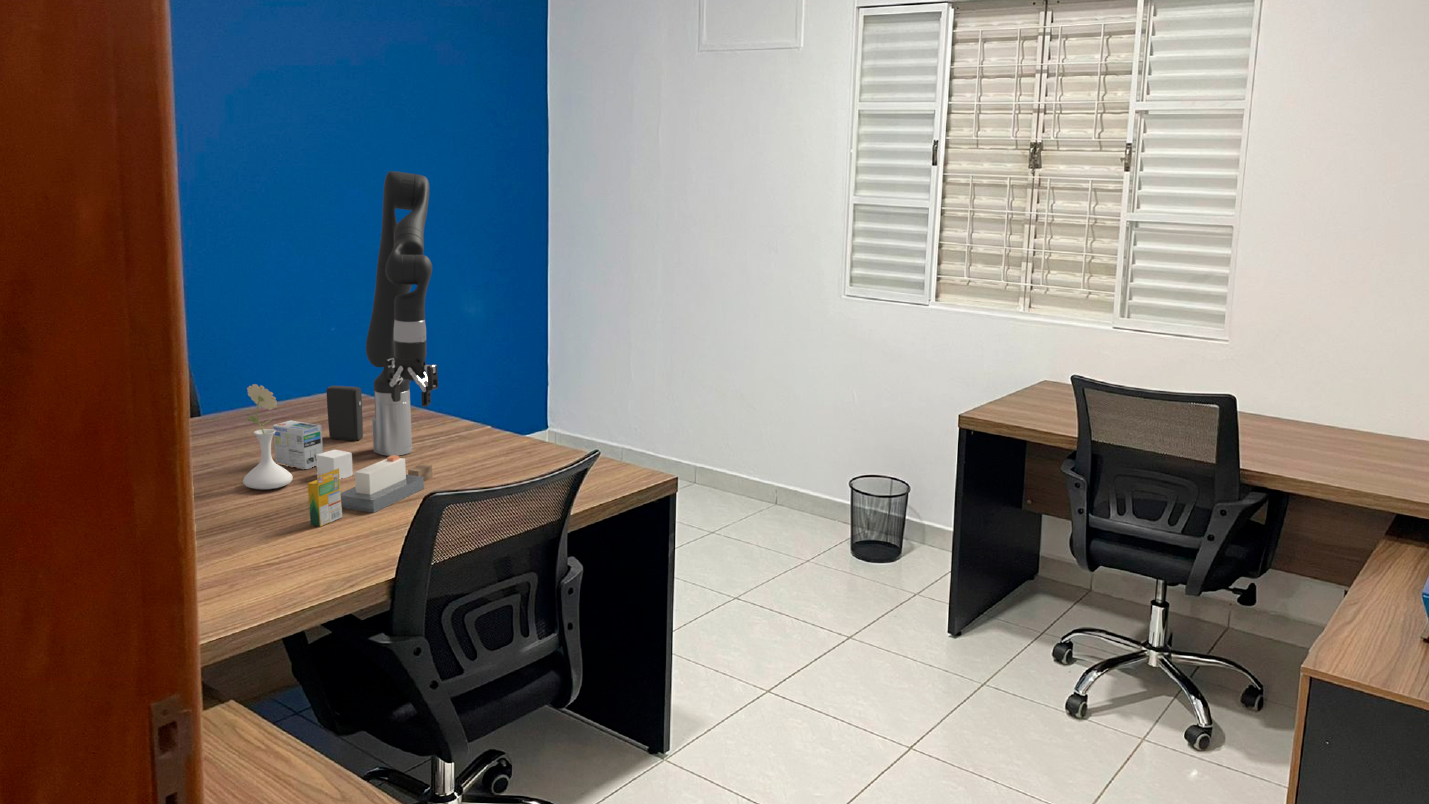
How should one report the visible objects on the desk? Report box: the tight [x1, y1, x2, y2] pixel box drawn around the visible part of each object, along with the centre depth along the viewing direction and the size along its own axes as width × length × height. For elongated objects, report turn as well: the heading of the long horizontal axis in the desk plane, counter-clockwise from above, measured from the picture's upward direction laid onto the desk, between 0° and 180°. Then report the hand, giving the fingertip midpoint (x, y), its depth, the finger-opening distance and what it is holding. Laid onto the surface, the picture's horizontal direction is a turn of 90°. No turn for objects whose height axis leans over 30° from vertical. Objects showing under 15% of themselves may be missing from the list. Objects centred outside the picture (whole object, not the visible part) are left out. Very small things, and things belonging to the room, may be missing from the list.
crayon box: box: [307, 468, 343, 528], centre depth 254 cm, size 7×3×12 cm, turn 157°
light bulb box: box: [272, 419, 324, 470], centre depth 297 cm, size 11×7×11 cm, turn 65°
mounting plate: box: [341, 474, 425, 514], centre depth 272 cm, size 20×10×3 cm, turn 160°
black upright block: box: [326, 385, 364, 441], centre depth 322 cm, size 9×4×15 cm, turn 80°
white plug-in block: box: [354, 455, 407, 495], centre depth 271 cm, size 14×4×9 cm, turn 160°
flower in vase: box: [242, 383, 294, 490], centre depth 277 cm, size 13×11×25 cm
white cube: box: [316, 449, 354, 480], centre depth 288 cm, size 6×6×6 cm
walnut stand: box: [407, 463, 433, 482], centre depth 287 cm, size 6×3×3 cm, turn 160°
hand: (411, 403), depth 278 cm, fingers open, 8 cm apart
